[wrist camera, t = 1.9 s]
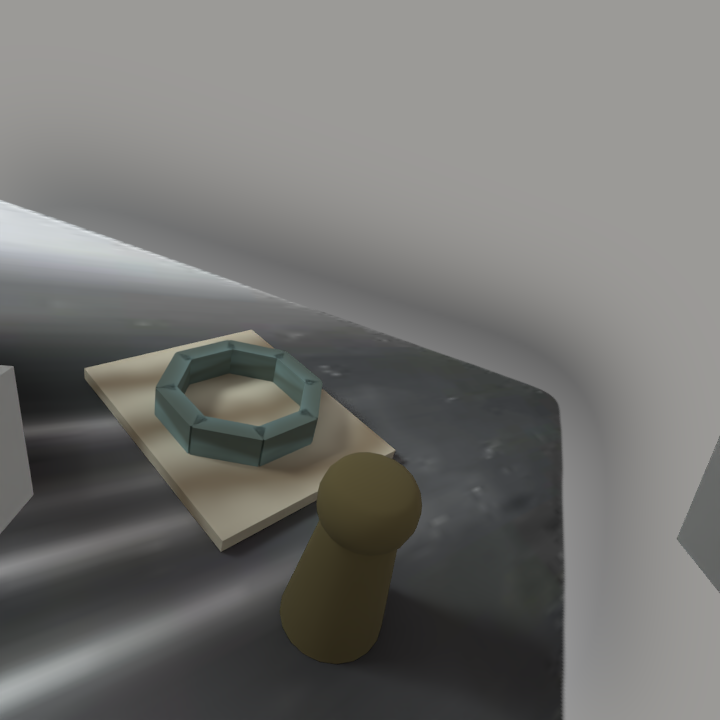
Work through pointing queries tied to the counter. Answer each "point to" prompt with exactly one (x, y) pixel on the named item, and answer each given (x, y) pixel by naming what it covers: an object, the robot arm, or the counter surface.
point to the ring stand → (232, 429)
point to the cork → (350, 557)
